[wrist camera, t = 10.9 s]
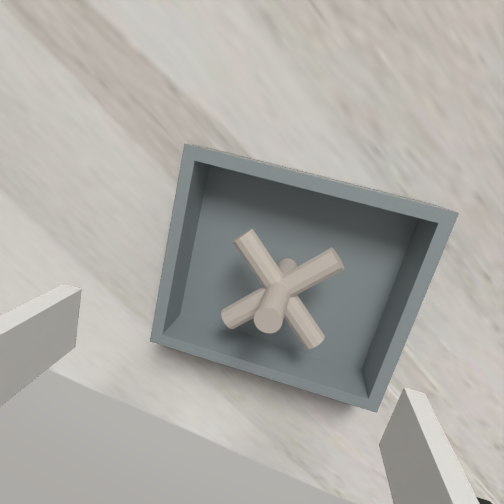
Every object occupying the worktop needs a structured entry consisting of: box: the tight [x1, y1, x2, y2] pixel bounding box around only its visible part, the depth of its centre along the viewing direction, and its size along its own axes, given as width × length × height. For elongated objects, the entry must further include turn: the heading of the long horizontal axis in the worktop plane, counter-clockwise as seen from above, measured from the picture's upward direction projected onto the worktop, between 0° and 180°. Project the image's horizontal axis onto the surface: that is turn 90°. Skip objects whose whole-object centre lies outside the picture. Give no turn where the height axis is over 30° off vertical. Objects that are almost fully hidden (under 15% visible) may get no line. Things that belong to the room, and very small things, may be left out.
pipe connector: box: [221, 229, 345, 349], centre depth 26 cm, size 10×10×10 cm
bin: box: [150, 144, 459, 413], centre depth 30 cm, size 20×17×5 cm
